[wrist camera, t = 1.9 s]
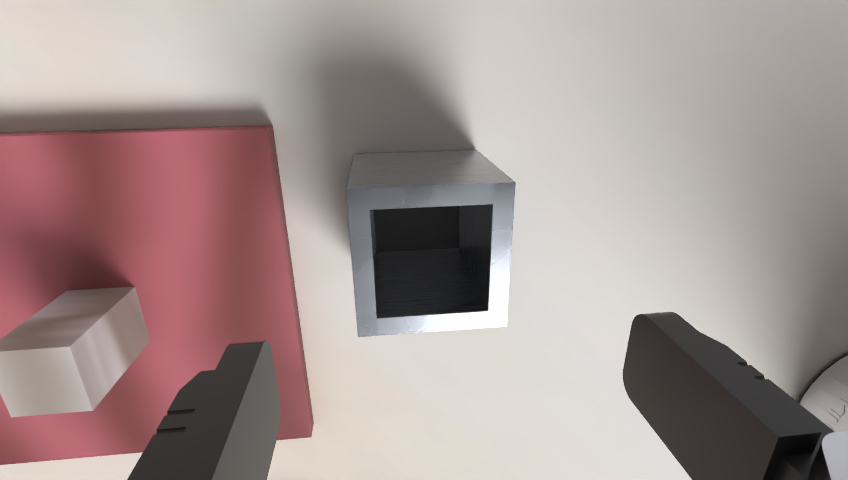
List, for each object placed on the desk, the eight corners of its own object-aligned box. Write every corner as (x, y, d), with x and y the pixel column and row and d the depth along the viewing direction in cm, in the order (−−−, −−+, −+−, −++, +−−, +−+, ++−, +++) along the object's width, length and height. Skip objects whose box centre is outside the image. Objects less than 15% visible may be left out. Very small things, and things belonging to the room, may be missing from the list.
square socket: (476, 149, 20) (515, 182, 14) (473, 259, 22) (506, 326, 16) (354, 154, 19) (345, 189, 14) (362, 266, 21) (358, 337, 16)
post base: (272, 125, 19) (233, 148, 13) (313, 422, 24) (297, 517, 19) (-152, 137, 17) (-374, 167, 12) (0, 450, 23) (-107, 559, 18)
